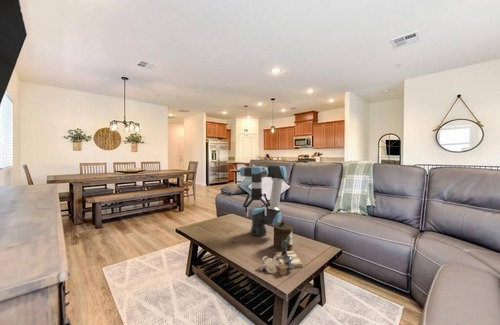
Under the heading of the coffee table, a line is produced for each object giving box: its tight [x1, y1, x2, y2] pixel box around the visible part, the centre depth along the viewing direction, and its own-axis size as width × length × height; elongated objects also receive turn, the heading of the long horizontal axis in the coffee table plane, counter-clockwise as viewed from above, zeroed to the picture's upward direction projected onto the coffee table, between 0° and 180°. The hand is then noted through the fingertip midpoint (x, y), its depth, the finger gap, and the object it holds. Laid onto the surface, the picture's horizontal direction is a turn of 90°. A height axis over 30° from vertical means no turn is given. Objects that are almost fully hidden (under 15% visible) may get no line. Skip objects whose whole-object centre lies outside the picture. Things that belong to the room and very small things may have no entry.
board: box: [274, 250, 304, 269], centre depth 151 cm, size 20×14×2 cm
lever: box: [282, 239, 295, 269], centre depth 147 cm, size 19×4×11 cm, turn 7°
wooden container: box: [272, 219, 294, 252], centre depth 170 cm, size 15×15×22 cm
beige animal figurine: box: [259, 254, 280, 274], centre depth 142 cm, size 16×10×10 cm, turn 138°
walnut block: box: [276, 264, 288, 276], centre depth 137 cm, size 4×4×4 cm
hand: (256, 215), depth 160 cm, fingers open, 13 cm apart
